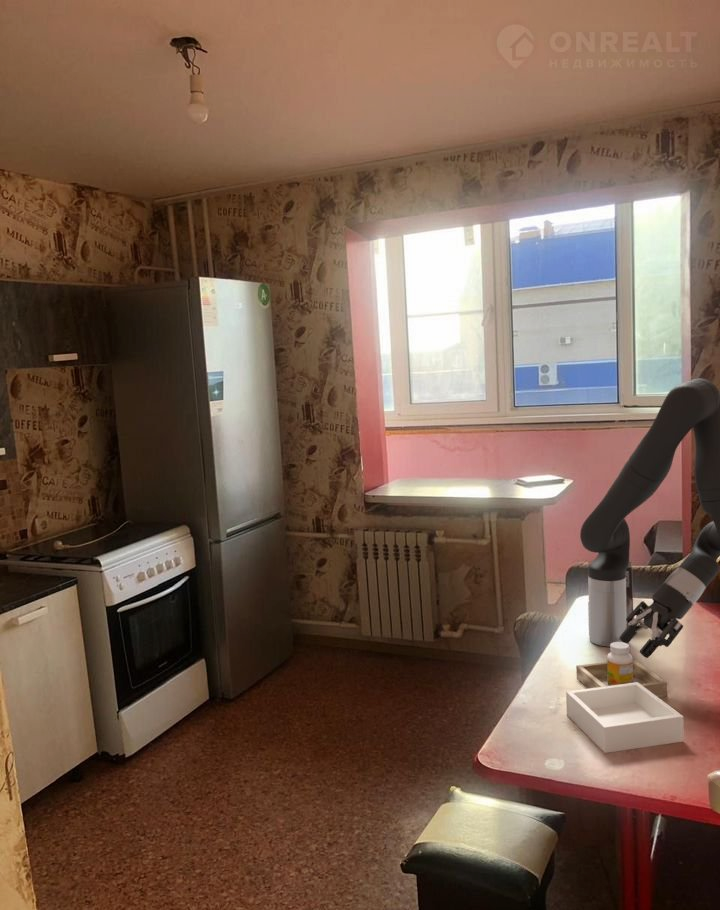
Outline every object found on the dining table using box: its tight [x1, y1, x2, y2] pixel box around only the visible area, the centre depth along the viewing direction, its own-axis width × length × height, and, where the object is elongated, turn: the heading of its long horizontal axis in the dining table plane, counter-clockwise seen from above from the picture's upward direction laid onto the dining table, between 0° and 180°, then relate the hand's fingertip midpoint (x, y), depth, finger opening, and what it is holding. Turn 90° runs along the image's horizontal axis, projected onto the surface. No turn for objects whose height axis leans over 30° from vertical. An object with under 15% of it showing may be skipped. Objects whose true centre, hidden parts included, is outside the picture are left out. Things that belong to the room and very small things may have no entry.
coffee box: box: [626, 561, 635, 624], centre depth 206 cm, size 9×6×16 cm
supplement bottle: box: [606, 642, 634, 686], centre depth 163 cm, size 5×5×10 cm
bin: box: [565, 681, 684, 754], centre depth 145 cm, size 16×16×5 cm
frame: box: [575, 658, 668, 698], centre depth 164 cm, size 14×14×3 cm
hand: (632, 648), depth 163 cm, fingers open, 8 cm apart
